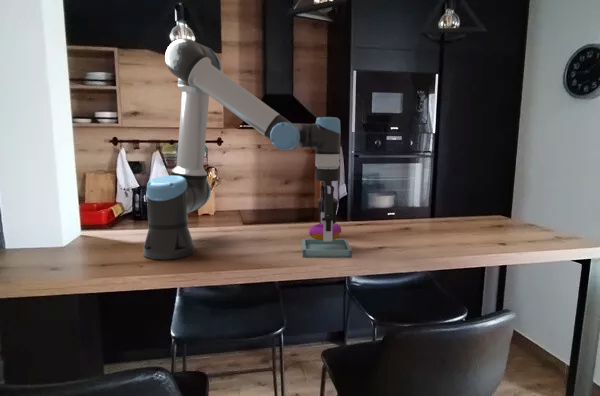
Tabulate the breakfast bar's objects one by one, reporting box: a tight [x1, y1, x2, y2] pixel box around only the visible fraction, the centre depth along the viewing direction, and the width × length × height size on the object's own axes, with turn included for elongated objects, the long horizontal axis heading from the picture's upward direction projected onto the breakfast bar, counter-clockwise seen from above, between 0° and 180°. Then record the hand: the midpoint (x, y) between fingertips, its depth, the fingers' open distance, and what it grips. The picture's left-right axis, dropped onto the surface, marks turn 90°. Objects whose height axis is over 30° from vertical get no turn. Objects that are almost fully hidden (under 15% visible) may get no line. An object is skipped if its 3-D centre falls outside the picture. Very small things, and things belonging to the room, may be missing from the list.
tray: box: [301, 238, 353, 259], centre depth 134 cm, size 15×14×2 cm
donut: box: [308, 223, 342, 240], centre depth 133 cm, size 10×10×5 cm
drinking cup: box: [317, 197, 340, 224], centre depth 150 cm, size 8×8×20 cm
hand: (326, 236), depth 133 cm, fingers closed on donut, 11 cm apart
